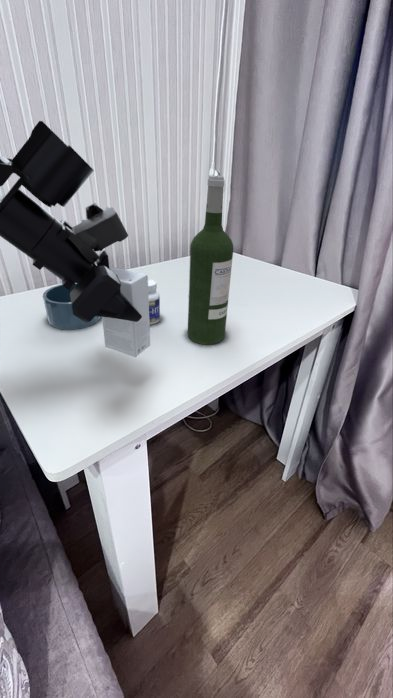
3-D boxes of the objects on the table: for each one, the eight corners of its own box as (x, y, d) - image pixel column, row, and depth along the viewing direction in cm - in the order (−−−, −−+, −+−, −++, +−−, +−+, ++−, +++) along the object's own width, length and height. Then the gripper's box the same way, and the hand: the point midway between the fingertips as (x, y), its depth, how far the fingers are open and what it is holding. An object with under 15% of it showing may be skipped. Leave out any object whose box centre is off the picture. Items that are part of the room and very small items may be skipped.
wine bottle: (220, 348, 66) (236, 180, 50) (182, 341, 68) (186, 176, 51) (227, 329, 73) (243, 176, 56) (193, 324, 74) (199, 173, 58)
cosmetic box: (151, 345, 54) (149, 274, 47) (135, 358, 50) (131, 283, 44) (120, 335, 56) (115, 266, 49) (103, 347, 52) (95, 274, 46)
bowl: (68, 335, 68) (63, 308, 65) (38, 318, 73) (32, 293, 70) (111, 316, 76) (108, 292, 72) (80, 302, 81) (77, 279, 78)
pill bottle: (147, 327, 72) (145, 289, 67) (131, 319, 75) (129, 282, 70) (164, 319, 75) (164, 282, 70) (149, 312, 78) (147, 276, 73)
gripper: (90, 197, 32) (193, 293, 41) (77, 176, 46) (155, 250, 56) (19, 281, 34) (133, 355, 43) (27, 235, 48) (111, 298, 58)
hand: (134, 308), depth 50 cm, fingers closed on cosmetic box, 7 cm apart
